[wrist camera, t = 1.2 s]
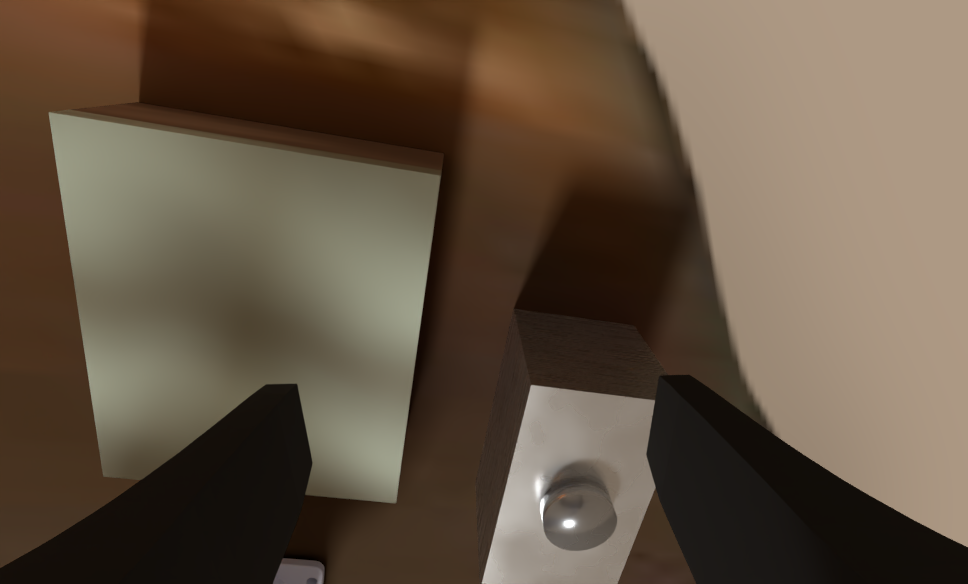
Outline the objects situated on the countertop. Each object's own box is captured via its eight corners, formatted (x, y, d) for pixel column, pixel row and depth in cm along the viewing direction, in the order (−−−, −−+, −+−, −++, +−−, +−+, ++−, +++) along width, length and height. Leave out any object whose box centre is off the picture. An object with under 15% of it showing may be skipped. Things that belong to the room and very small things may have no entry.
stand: (406, 432, 23) (395, 502, 19) (163, 406, 21) (103, 476, 18) (444, 153, 18) (441, 175, 14) (137, 102, 17) (48, 112, 13)
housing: (579, 491, 25) (616, 621, 19) (475, 480, 24) (480, 611, 18) (633, 323, 21) (699, 420, 15) (513, 307, 21) (534, 400, 15)
